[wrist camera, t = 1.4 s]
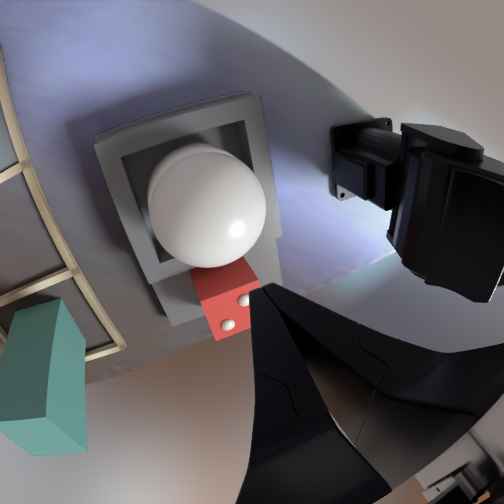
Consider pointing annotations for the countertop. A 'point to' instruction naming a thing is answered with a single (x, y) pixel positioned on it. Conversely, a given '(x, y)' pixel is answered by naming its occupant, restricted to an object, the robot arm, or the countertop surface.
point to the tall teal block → (44, 381)
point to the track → (10, 152)
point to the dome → (205, 205)
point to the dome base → (138, 218)
